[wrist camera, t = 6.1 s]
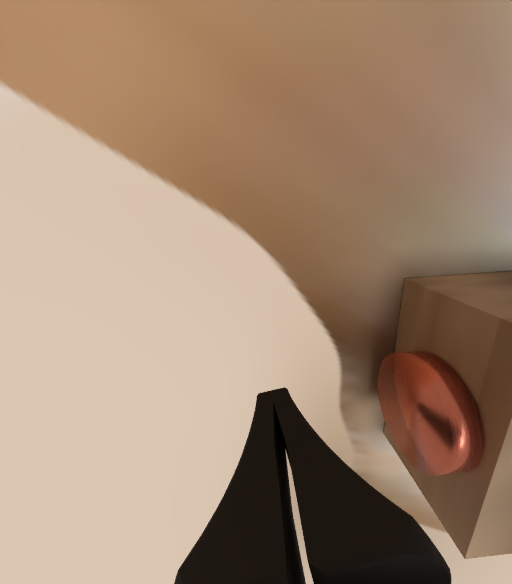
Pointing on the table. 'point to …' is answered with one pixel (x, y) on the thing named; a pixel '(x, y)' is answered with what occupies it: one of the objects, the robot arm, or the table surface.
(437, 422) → the pin
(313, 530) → the robot arm
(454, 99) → the table surface
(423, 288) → the block
